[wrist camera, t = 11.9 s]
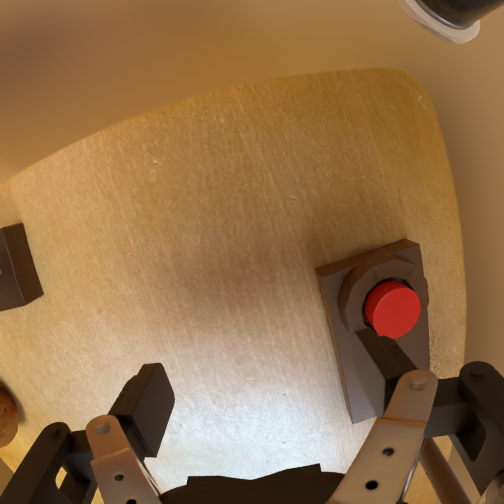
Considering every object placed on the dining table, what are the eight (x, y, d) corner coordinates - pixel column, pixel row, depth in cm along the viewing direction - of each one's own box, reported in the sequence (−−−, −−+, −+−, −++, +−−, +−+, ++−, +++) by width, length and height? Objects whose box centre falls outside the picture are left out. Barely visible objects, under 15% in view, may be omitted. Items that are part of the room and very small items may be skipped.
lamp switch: (360, 289, 19) (369, 298, 18) (406, 273, 19) (418, 280, 17) (368, 334, 20) (377, 346, 18) (411, 317, 20) (422, 327, 18)
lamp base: (314, 266, 23) (325, 281, 19) (406, 235, 22) (431, 245, 18) (347, 410, 26) (357, 437, 22) (420, 381, 25) (437, 403, 21)
